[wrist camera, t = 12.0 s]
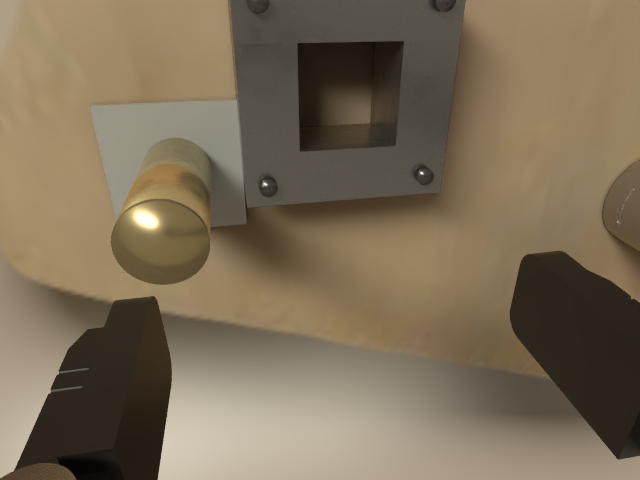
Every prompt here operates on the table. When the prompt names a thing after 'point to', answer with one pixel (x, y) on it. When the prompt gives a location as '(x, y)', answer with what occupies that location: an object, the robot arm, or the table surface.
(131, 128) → the rubber mat
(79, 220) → the table surface
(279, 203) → the grey square socket block
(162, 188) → the brass cylindrical shaft
